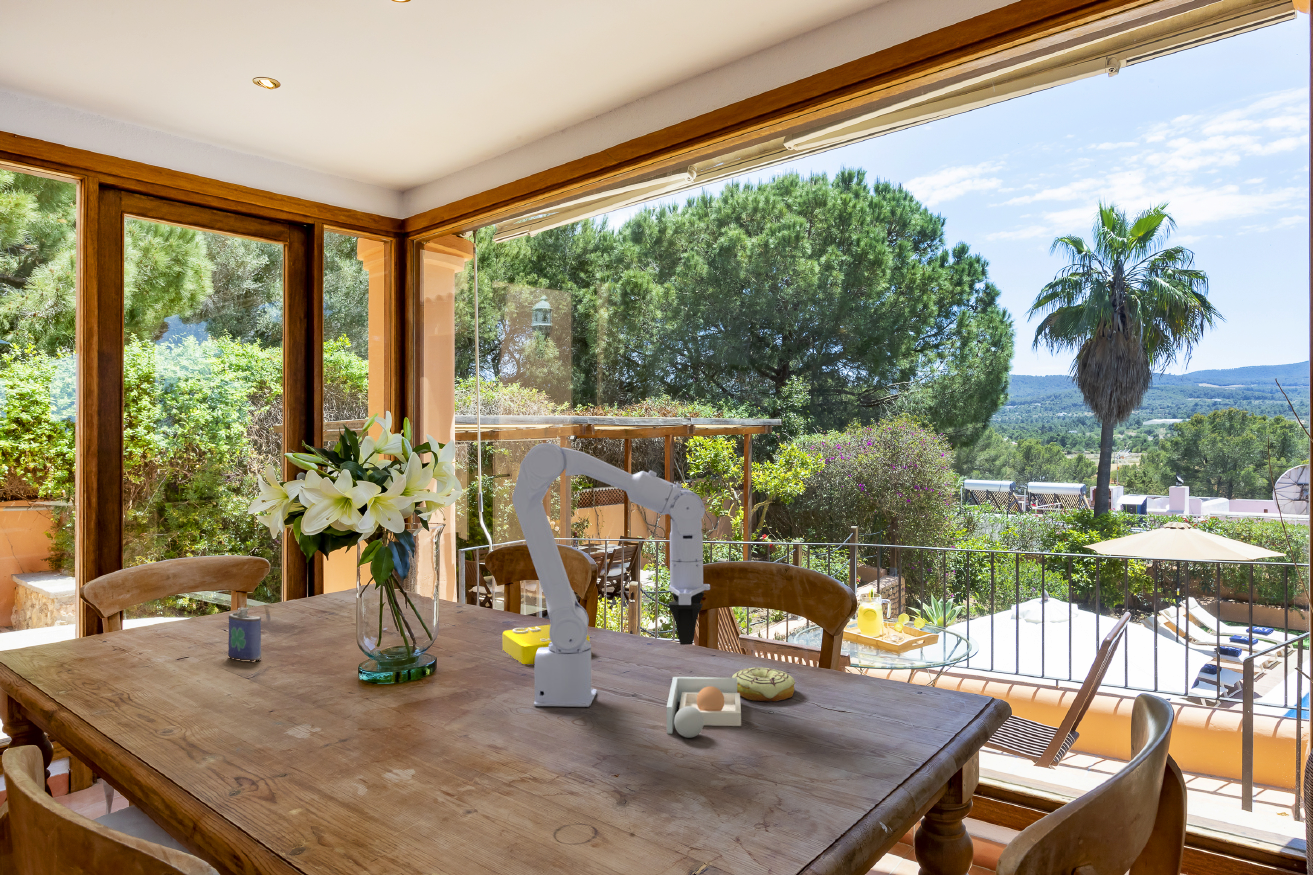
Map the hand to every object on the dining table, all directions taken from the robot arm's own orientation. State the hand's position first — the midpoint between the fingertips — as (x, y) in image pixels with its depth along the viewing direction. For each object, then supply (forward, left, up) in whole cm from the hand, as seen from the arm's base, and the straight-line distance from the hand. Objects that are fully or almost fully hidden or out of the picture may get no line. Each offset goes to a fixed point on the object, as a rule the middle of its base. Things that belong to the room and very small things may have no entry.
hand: (687, 638), depth 134 cm
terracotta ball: (+4, -9, -9) cm, 13 cm away
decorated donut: (+13, +2, -10) cm, 17 cm away
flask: (-93, +19, -10) cm, 95 cm away
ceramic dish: (+4, -9, -10) cm, 14 cm away
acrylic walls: (+3, -10, -10) cm, 14 cm away
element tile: (-31, +27, -11) cm, 42 cm away
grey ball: (+1, -19, -10) cm, 21 cm away
